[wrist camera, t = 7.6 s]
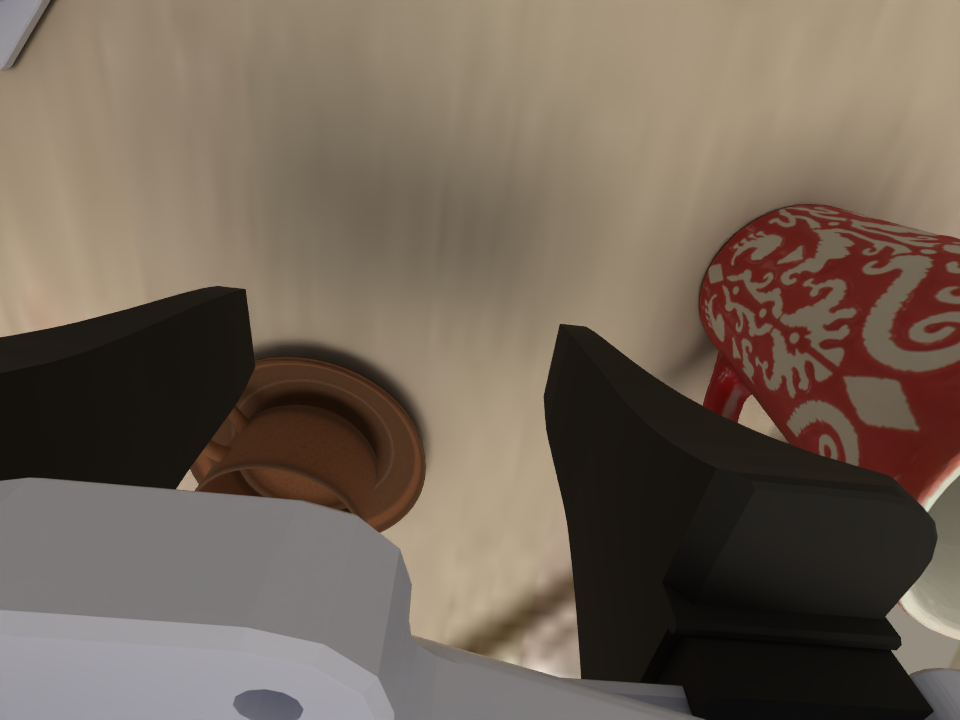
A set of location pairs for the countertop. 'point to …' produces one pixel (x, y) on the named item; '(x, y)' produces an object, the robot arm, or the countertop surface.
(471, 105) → the countertop surface
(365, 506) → the cup and saucer
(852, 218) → the mug
